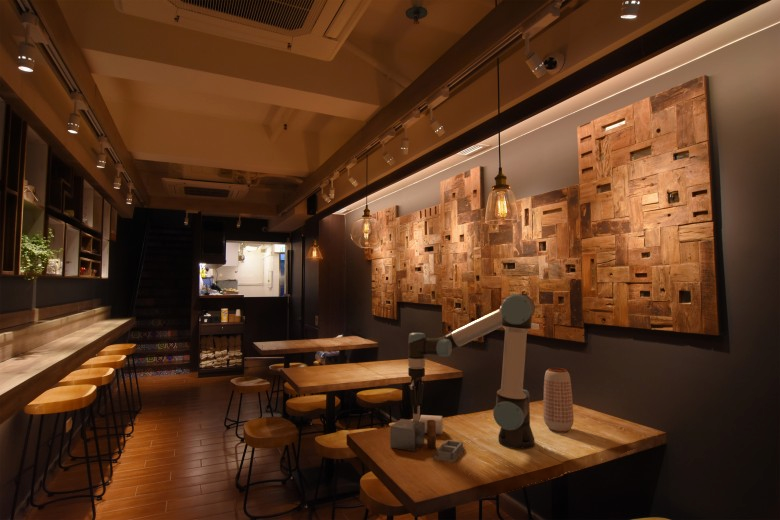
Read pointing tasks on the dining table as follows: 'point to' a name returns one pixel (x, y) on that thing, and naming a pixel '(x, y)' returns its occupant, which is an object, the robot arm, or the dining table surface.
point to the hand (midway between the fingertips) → (416, 420)
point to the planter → (558, 400)
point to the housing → (407, 434)
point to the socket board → (449, 451)
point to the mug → (438, 422)
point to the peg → (431, 434)
